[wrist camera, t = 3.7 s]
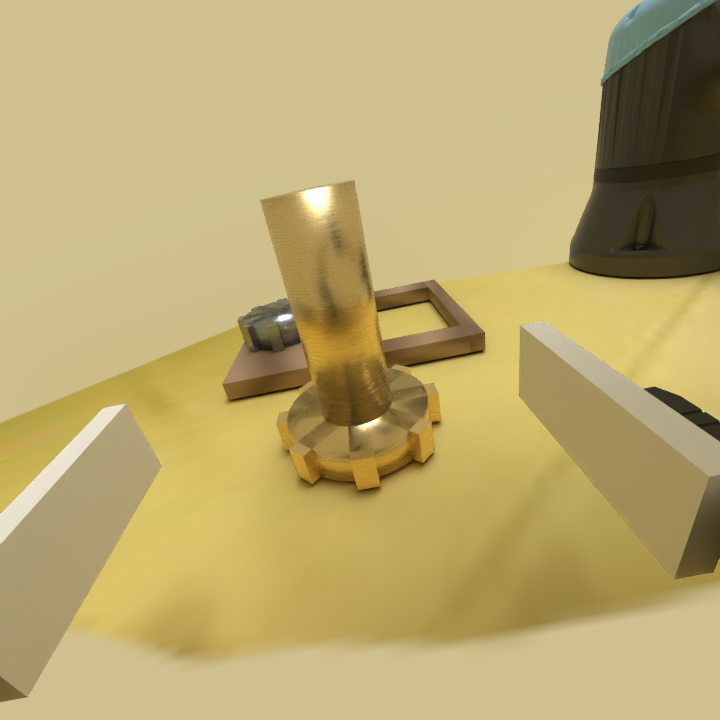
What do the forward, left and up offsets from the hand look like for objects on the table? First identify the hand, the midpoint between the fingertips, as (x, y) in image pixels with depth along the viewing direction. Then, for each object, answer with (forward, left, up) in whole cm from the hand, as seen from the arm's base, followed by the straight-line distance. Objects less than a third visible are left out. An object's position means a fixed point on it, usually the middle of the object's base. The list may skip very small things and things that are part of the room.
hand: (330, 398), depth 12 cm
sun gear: (+6, -23, -6) cm, 25 cm away
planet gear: (0, -8, -8) cm, 11 cm away
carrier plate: (0, -23, -8) cm, 24 cm away
